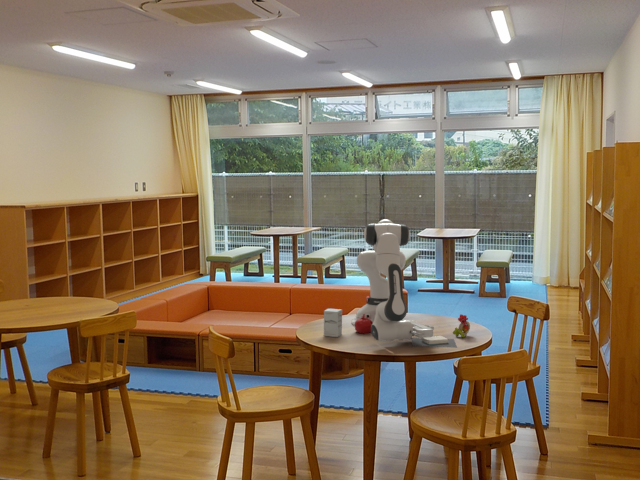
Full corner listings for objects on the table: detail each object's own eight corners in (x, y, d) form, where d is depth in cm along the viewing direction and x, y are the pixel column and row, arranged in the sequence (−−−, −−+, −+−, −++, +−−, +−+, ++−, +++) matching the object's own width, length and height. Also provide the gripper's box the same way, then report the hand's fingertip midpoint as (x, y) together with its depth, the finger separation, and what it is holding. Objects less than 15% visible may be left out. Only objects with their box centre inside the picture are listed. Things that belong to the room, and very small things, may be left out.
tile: (428, 340, 303) (448, 339, 306) (421, 337, 309) (440, 335, 312) (428, 344, 303) (448, 343, 306) (421, 341, 309) (440, 339, 313)
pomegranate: (358, 335, 324) (357, 317, 323) (351, 330, 334) (351, 312, 333) (376, 334, 327) (376, 315, 326) (370, 329, 337) (369, 311, 336)
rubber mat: (412, 347, 300) (412, 346, 300) (411, 339, 316) (411, 337, 316) (457, 348, 298) (457, 347, 298) (453, 340, 314) (453, 339, 314)
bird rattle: (459, 338, 327) (449, 333, 321) (465, 317, 329) (455, 312, 323) (470, 341, 322) (459, 336, 316) (476, 319, 324) (466, 314, 318)
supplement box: (323, 336, 322) (323, 310, 321) (328, 333, 329) (328, 308, 328) (337, 337, 319) (337, 311, 318) (342, 334, 326) (342, 309, 325)
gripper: (416, 327, 292) (443, 325, 297) (396, 318, 311) (422, 316, 316) (415, 341, 293) (443, 339, 297) (396, 331, 312) (422, 329, 316)
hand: (432, 327), depth 307 cm, fingers closed
